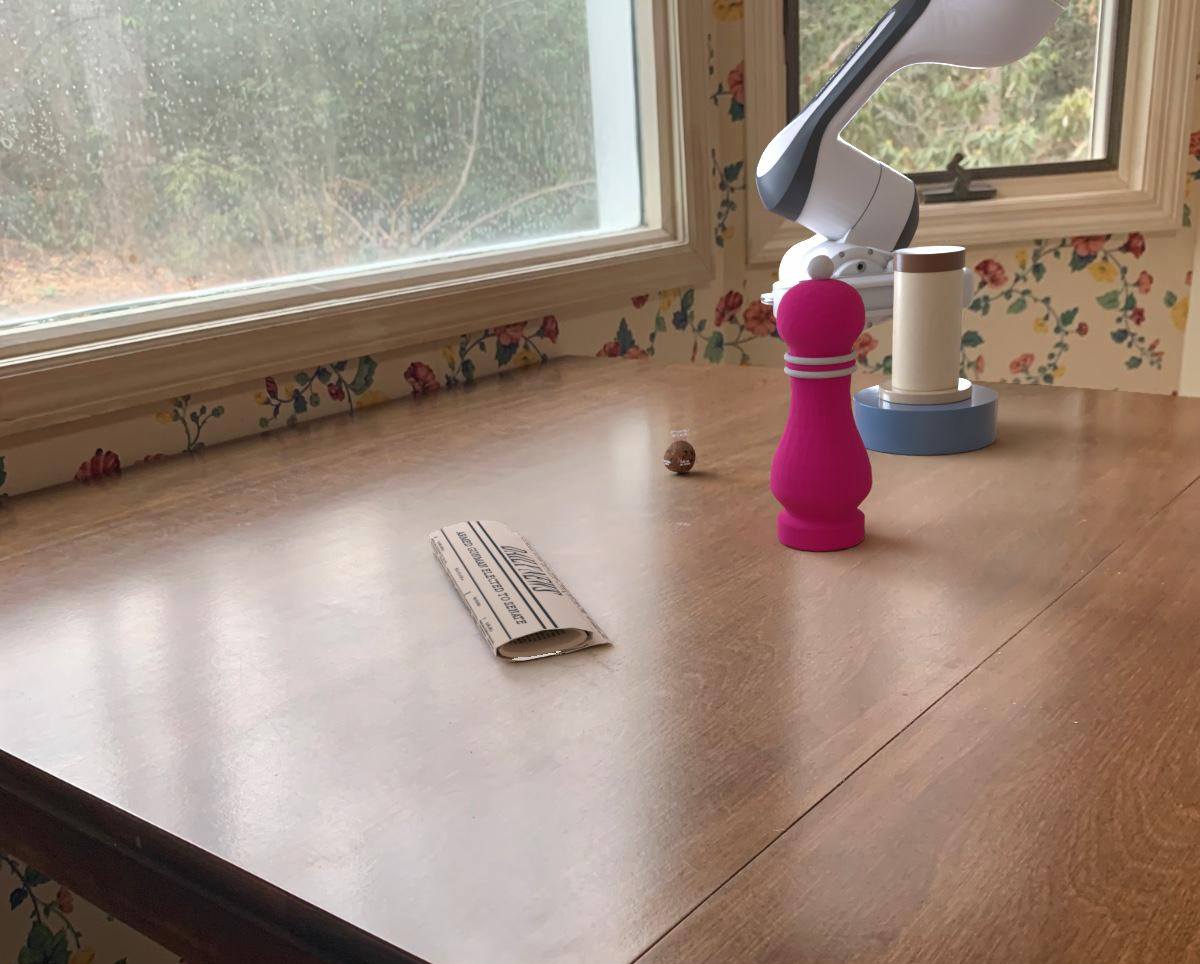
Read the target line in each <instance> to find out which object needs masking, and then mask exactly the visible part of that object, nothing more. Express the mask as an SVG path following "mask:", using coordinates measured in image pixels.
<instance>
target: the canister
mask: <svg viewBox="0 0 1200 964" xmlns="http://www.w3.org/2000/svg"><path fill="white" fill-rule="evenodd" d="M966 251H967V250H966V247H963V246H954V245H935V246H934V245H931V246H915V247H908V248H905V249H899V250H896V251H894V252H893V270H894V302H893V320H892V353H891V354H892V356H891V379H892V386H893V387H895V388H898V389H902V390H909V391H937V390H945V389H950V388H953V387H956V386H958V385H959V378H960V372H961V371H960V370H961V348H962V347H961V346H962V322H963V308H962V300H963V276H964V267H966V257H967V255H966V253H967V252H966Z"/></svg>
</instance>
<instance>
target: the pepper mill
mask: <svg viewBox="0 0 1200 964" xmlns="http://www.w3.org/2000/svg"><path fill="white" fill-rule="evenodd" d="M833 271H834V264H833V262H832V260H831V259H830V258H829V257H828V256H826V255H817V256H815V257H813V258H812V259H811V260H810V261H809V263H808V266H807V272H808V275H809V276H810V278H811V279H809V280H806V281H803V282H800V283H798V284H796V285H794V286H793V287H792V288H790V289H789V290H788V291H787V292H786V293H785V294H784V295H783V297H782V299H781V301H780V303H779V306H778V309H777V316H776V318H775V321H776V322H775V324H776V331H777V333H778V335H779V337H780V339H781V340H782V341H783V342H784V343H785V344H786V345H787V347H788V351H786V352H785V353H784V354H783V359H784V360H785V366H784V368H783V371H784V373H785V375H786V376H789V380H790V402H789V403H790V404H789V411H788V415H787V416H788V417H787V419H786V420H787V421H786V424H785V427H784V430H783V432H782V436H781V438H780V440H779V443H778V445H777V448H776V450H775V452H774V455H773V459H772V463H771V467H770V479H769V489H770V491H771V495H773V498H775V499H776V501H777V502H779V504H780V505H781V506H782V507H783V508H784V509H782V510H781V511H780V512H779V513H778V515H777V518H776V520H777V523H776V524H777V525H776V526H777V539H778V541H779V542H780V543H781V544H783V545H784V546H786V547H788V548H792V549H796V550H800V551H808V552H809V551H810V552H830V551H839V550H844V549H845V550H846V549H849V548H851V547H854V546H857V545H859V544H860V543H862V542H863V540H864V539H865V535H866V516H865V515H866V514H865V513H864V512H863V510H861V509H859V506H860V505H861V504H862V503H863V502H864V500H866V498H867V497H868V496H869V494H870V492H871V491H872V488H873V470H872V469H873V468H872V464H871V461H870V456H869V452H868V451H867V448H865V445H864V443H863V441H862V438H861V436H860V434H859V431H858V429H857V426H856V423H855V420H854V416H853V404H852V395H851V389H852V388H851V387H852V386H851V385H852V376H853V375H852V374H854V373H856V372H857V370H858V367H859V366H858V365H857V357H858V356H859V354H858V351H857V350H856V349H855V348H853V346H854V344H855V343H856V342H857V340H858V339H859V337H860V336H861V335H862V333H863V332H864V330H863V329H864V326H865V307H864V303H863V300H862V297H861V296H860V294H859V293H858V291H857V290H856V289H855V288H854V287H853V286H851V285H849V284H848V283H846V282H844V281H841V280H837V279H831V278H830V277H831V276H832V274H833Z"/></svg>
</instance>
